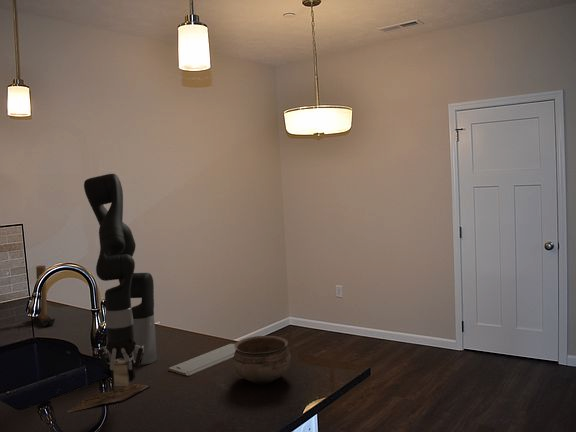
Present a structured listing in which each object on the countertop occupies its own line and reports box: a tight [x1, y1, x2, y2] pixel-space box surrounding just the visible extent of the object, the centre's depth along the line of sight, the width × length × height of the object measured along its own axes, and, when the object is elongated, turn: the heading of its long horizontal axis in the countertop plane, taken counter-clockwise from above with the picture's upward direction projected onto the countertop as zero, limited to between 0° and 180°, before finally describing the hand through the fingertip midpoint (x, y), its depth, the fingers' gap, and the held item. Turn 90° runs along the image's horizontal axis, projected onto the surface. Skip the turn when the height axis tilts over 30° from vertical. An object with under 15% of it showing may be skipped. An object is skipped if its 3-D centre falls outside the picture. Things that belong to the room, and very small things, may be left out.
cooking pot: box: [232, 335, 292, 385], centre depth 171 cm, size 25×19×12 cm
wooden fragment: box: [66, 383, 151, 414], centre depth 163 cm, size 26×11×1 cm, turn 127°
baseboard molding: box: [168, 343, 236, 377], centre depth 192 cm, size 31×3×12 cm
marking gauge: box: [113, 359, 135, 387], centre depth 156 cm, size 12×4×6 cm, turn 176°
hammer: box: [32, 265, 56, 328], centre depth 253 cm, size 20×5×30 cm, turn 42°
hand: (123, 380), depth 152 cm, fingers closed on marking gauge, 4 cm apart
